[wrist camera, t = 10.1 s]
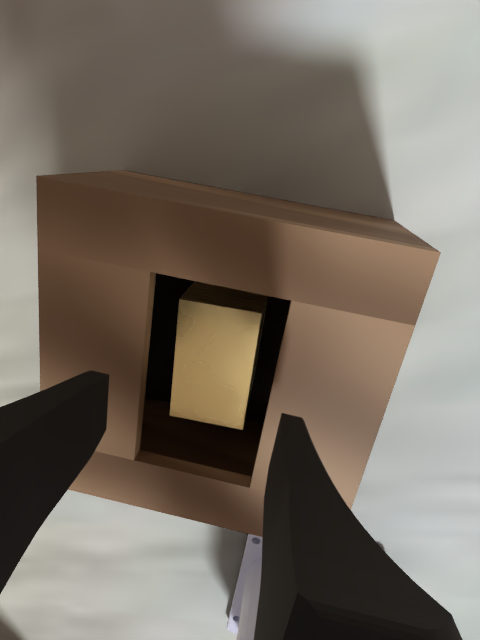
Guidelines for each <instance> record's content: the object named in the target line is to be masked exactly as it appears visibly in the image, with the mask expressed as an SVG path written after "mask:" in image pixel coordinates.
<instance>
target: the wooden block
mask: <svg viewBox="0 0 480 640" xmlns="http://www.w3.org/2000/svg"><path fill="white" fill-rule="evenodd" d="M267 300H268V296H266V295H261V294H256V293H252V292H247V291H242V290H237V289H232V288H227V287H222V286H217V285H212V284H207V283H202V282H197V281H195V282H194V283H193V284H192V285H191V286H190V287H189V289H188V290H187V291H186V292H185V293H184V294H183V295H182V297H181V298H180V299H179V308H178V320H177V332H176V344H175V356H174V368H173V380H172V392H171V404H170V416H175V417H180V418H185V419H190V420H195V421H200V422H205V423H211V424H216V425H221V426H226V427H231V428H236V429H241V430H243V426H244V422H245V417H246V413H247V408H248V404H249V399H250V395H251V390H252V386H253V381H254V377H255V372H256V366H257V360H258V354H259V348H260V342H261V336H262V330H263V324H264V318H265V312H266V306H267Z"/></svg>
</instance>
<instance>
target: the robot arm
mask: <svg viewBox="0 0 480 640" xmlns="http://www.w3.org/2000/svg"><path fill="white" fill-rule="evenodd" d="M108 391H109V374H105V373H101V372H96V371H92V370H90V371H87V372H84V373H82V374H79V375H77V376H75V377H72V378H70V379H68V380H65V381H63V382H61V383H59V384H56V385H54V386H52V387H49V388H47V389H45V390H42V391H40V392H38V393H35V394H33V395H31V396H28V397H26V398H23V399H20V400H18V401H15V402H13V403H10V404H7V405H5V406H2V407H0V594H1V592H2V590H3V588H4V587H5V585H6V583H7V581H8V580H9V578H10V576H11V574H12V573H13V571H14V569H15V567H16V566H17V564H18V562H19V561H20V559H21V557H22V556H23V554H24V552H25V551H26V549H27V547H28V546H29V544H30V542H31V541H32V539H33V537H34V536H35V534H36V532H37V531H38V529H39V528H40V527H41V525H42V524H43V522H44V521H45V519H46V518H47V516H48V515H49V514H50V512H51V511H52V510H53V508H54V507H55V506H56V504H57V503H58V502H59V500H60V499H61V498H62V496H63V495H64V494H65V492H66V491H67V490H68V488H69V487H70V486H71V484H72V483H73V482H74V480H75V479H76V478H77V476H78V475H79V473H80V472H81V471H82V469H83V468H84V467H85V465H86V464H87V462H88V461H89V460H90V458H91V457H92V455H93V453H94V451H95V450H96V448H97V446H98V444H99V443H100V441H101V439H102V437H103V435H104V433H105V431H106V429H107V410H108ZM256 538H259V539H256ZM227 629H228V630H229V631H230V632H232V633H235V634H237V640H462V638H461V635H460V633H459V631H458V629H457V627H456V624H455V622H454V619H453V617H452V615H451V614H450V613H449V612H448V611H447V610H446V609H444V608H443V607H442V606H441V605H440V604H439V603H438V602H437V601H435V600H434V599H433V598H432V597H431V596H430V595H429V594H427V593H426V592H425V591H424V590H423V589H422V588H421V587H419V586H418V585H417V584H416V583H415V582H414V581H413V580H412V579H411V578H410V577H409V576H408V575H407V574H406V573H405V572H404V571H403V570H402V569H401V568H400V567H399V566H398V565H397V564H396V563H395V562H394V561H393V560H392V559H391V558H390V557H389V556H388V555H387V554H386V553H385V552H384V551H383V550H382V548H381V547H380V546H379V545H378V544H377V543H376V542H375V540H374V539H373V538H372V537H371V536H370V534H369V533H368V532H367V531H366V530H365V529H364V527H363V526H362V525H361V524H360V522H359V521H358V520H357V518H356V517H355V516H354V514H353V513H352V511H351V510H350V509H349V507H348V506H347V504H346V503H345V501H344V500H343V498H342V497H341V495H340V493H339V492H338V490H337V489H336V487H335V485H334V483H333V482H332V480H331V478H330V476H329V475H328V473H327V471H326V469H325V467H324V465H323V463H322V461H321V459H320V457H319V455H318V453H317V451H316V449H315V447H314V444H313V442H312V440H311V437H310V435H309V432H308V430H307V427H306V424H305V421H304V420H303V418H302V417H298V416H293V415H289V414H284V413H281V418H280V422H279V426H278V430H277V434H276V438H275V443H274V447H273V451H272V455H271V459H270V463H269V468H268V474H267V481H266V488H265V495H264V510H263V537H260V536H256V535H252V534H248V537H247V542H246V546H245V550H244V555H243V559H242V563H241V567H240V572H239V576H238V580H237V584H236V589H235V593H234V597H233V601H232V606H231V610H230V614H229V618H228V623H227Z"/></svg>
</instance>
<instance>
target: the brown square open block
mask: <svg viewBox="0 0 480 640" xmlns="http://www.w3.org/2000/svg"><path fill="white" fill-rule="evenodd" d="M37 231H38V287H39V342H40V391H42V390H45V389H47V388H49V387H52V386H54V385H56V384H59V383H61V382H63V381H65V380H68V379H70V378H72V377H75V376H77V375H79V374H82V373H84V372H87V371H90V370H92V371H96V372H101V373H105V374H109V391H108V410H107V429H106V431H105V433H104V435H103V437H102V439H101V441H100V443H99V444H98V446H97V448H96V450H95V451H94V453H93V455H92V457H91V458H90V460H89V461H88V462H87V464H86V465H85V467H84V468H83V469H82V471H81V472H80V473H79V475H78V476H77V478H76V479H75V480H74V482H73V483H72V484H71V486H70V487H69V488H68V489H69V490H73V491H77V492H81V493H85V494H89V495H93V496H97V497H101V498H105V499H109V500H113V501H117V502H121V503H126V504H130V505H134V506H138V507H142V508H146V509H150V510H154V511H158V512H162V513H166V514H170V515H174V516H178V517H182V518H187V519H191V520H195V521H199V522H203V523H207V524H211V525H215V526H219V527H223V528H227V529H231V530H235V531H239V532H243V533H247V534H252V535H256V536H260V537H263V510H264V495H265V488H266V481H267V474H268V468H269V463H270V459H271V455H272V451H273V447H274V443H275V438H276V434H277V430H278V426H279V422H280V418H281V413H284V414H289V415H293V416H298V417H302V418H303V420H304V421H305V424H306V427H307V430H308V432H309V435H310V437H311V440H312V442H313V444H314V447H315V449H316V451H317V453H318V455H319V457H320V459H321V461H322V463H323V465H324V467H325V469H326V471H327V473H328V475H329V476H330V478H331V480H332V482H333V483H334V485H335V487H336V489H337V490H338V492H339V493H340V495H341V497H342V498H343V500H344V501H345V503H346V504H347V506H348V507H349V509H350V510H351V507H352V505H353V502H354V499H355V496H356V493H357V490H358V487H359V485H360V482H361V479H362V476H363V473H364V470H365V467H366V465H367V462H368V459H369V456H370V453H371V450H372V447H373V445H374V442H375V439H376V436H377V433H378V430H379V427H380V425H381V422H382V419H383V416H384V413H385V410H386V407H387V405H388V402H389V399H390V396H391V393H392V390H393V387H394V385H395V382H396V379H397V376H398V373H399V370H400V367H401V365H402V362H403V359H404V356H405V353H406V350H407V347H408V345H409V342H410V339H411V336H412V333H413V330H414V327H415V325H416V322H417V319H418V316H419V313H420V310H421V307H422V305H423V302H424V299H425V296H426V293H427V290H428V287H429V285H430V282H431V279H432V276H433V273H434V270H435V267H436V265H437V262H438V259H439V256H440V253H441V252H439V251H438V250H436V249H435V248H433V247H432V246H430V245H429V244H428V243H426V242H425V241H423V240H422V239H420V238H419V237H417V236H416V235H415V234H413V233H412V232H410V231H409V230H407V229H406V228H404V227H403V226H402V225H400V224H399V223H397V222H396V221H393V220H387V219H382V218H377V217H371V216H366V215H361V214H355V213H350V212H344V211H339V210H334V209H328V208H323V207H317V206H312V205H307V204H301V203H296V202H290V201H285V200H280V199H274V198H269V197H264V196H258V195H253V194H247V193H242V192H237V191H231V190H226V189H220V188H215V187H210V186H204V185H199V184H194V183H188V182H183V181H177V180H172V179H167V178H161V177H156V176H150V175H145V174H140V173H134V172H129V171H123V170H122V171H106V172H91V173H75V174H59V175H44V176H37ZM156 273H158V274H163V275H168V276H173V277H178V278H183V279H187V280H192V281H197V282H202V283H207V284H212V285H217V286H222V287H227V288H232V289H237V290H242V291H247V292H252V293H256V294H261V295H266V296H271V297H276V298H281V299H286V300H291V303H290V307H289V312H288V316H287V320H286V325H285V329H284V334H283V338H282V343H281V347H280V352H279V356H278V361H277V365H276V370H275V374H274V379H273V383H272V388H271V392H270V397H269V401H268V406H267V410H266V415H265V419H264V424H261V423H257V422H252V421H248V420H245V422H244V426H243V430H241V429H236V428H231V427H226V426H221V425H216V424H211V423H205V422H200V421H195V420H190V419H185V418H180V417H175V416H170V404H171V403H168V402H164V401H159V400H155V399H151V398H146V397H145V388H146V377H147V366H148V355H149V345H150V334H151V323H152V312H153V301H154V290H155V279H156Z"/></svg>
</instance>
